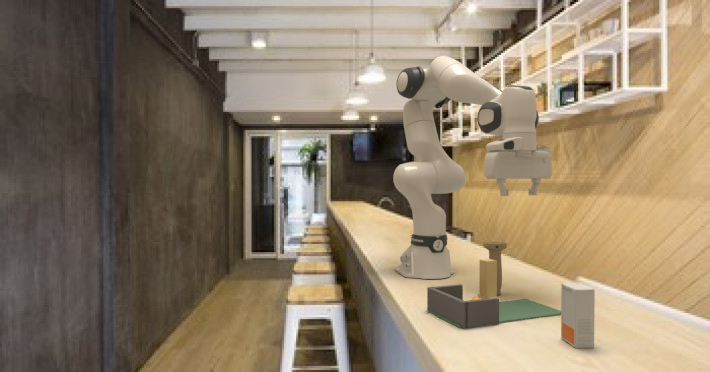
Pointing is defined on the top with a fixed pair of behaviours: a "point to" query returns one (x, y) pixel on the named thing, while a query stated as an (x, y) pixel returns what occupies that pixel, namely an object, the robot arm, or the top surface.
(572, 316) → the skincare box
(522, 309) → the pitch
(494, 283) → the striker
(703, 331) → the top surface
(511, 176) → the robot arm
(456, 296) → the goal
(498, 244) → the handle
